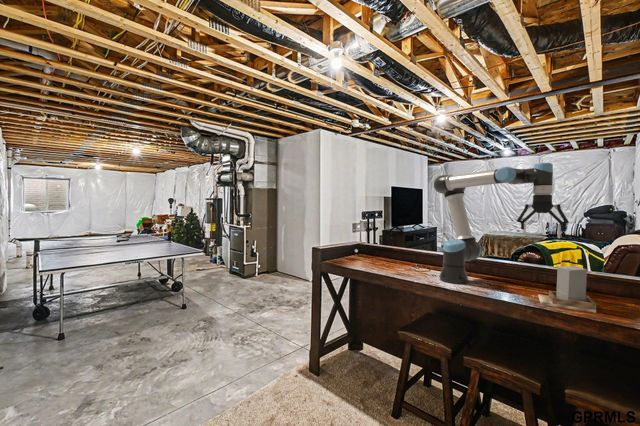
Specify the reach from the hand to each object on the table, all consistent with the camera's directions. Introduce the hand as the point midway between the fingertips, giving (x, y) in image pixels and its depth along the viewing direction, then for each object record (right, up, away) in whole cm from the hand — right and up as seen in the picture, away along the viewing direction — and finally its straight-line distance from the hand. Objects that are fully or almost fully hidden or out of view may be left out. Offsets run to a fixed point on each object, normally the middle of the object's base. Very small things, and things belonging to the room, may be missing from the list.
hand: (541, 237), depth 142 cm
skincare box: (+2, -28, -15) cm, 32 cm away
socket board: (0, -29, -14) cm, 32 cm away
